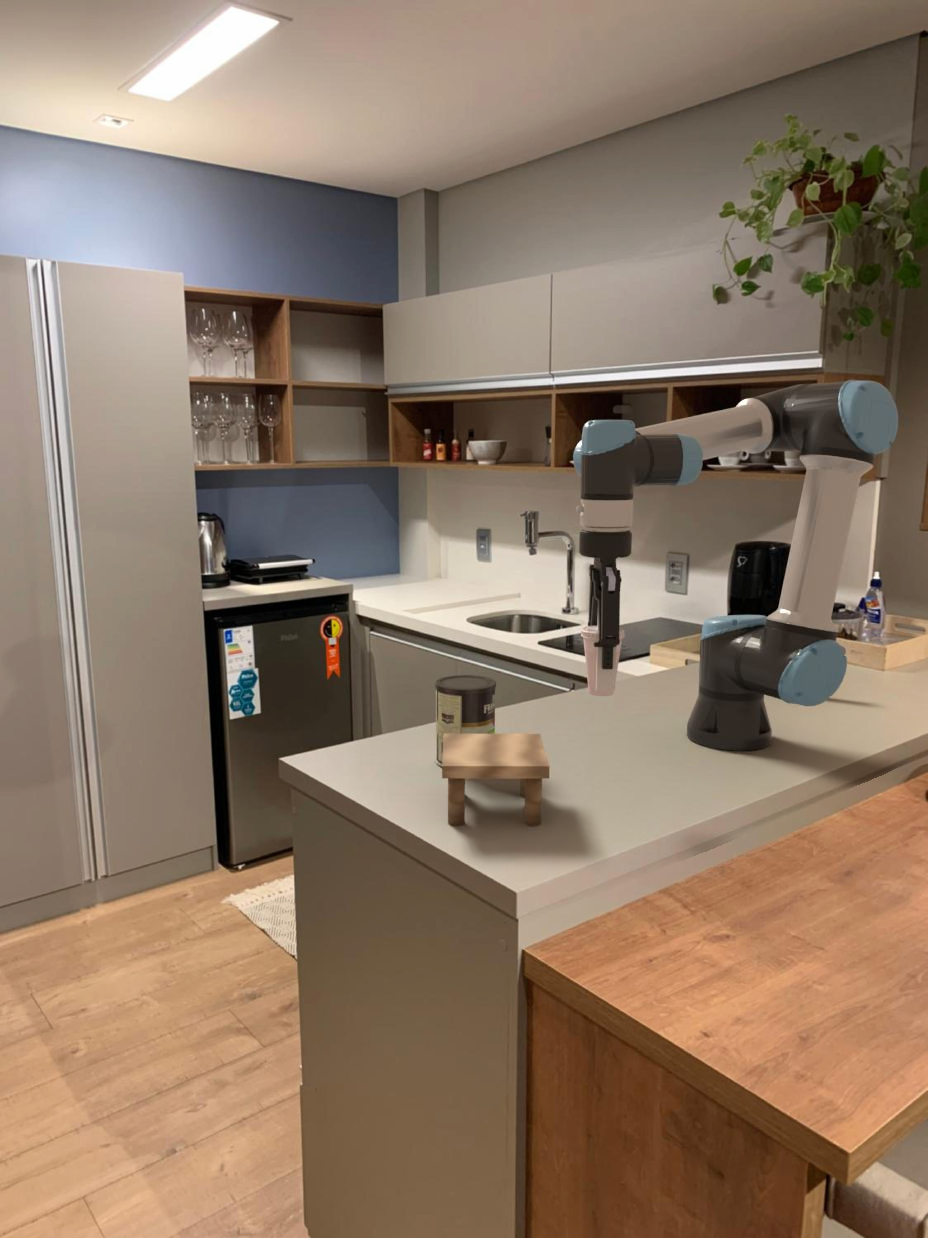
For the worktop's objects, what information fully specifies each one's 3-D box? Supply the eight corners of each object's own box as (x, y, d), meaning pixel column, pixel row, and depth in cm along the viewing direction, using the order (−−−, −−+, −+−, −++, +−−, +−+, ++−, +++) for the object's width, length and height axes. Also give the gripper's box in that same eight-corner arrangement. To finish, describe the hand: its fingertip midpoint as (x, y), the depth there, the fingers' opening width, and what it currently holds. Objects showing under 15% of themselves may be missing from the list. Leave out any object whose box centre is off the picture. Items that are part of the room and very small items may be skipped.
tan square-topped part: (538, 790, 147) (540, 733, 146) (548, 828, 132) (549, 766, 131) (443, 789, 147) (443, 733, 145) (442, 828, 132) (442, 766, 131)
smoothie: (575, 687, 143) (577, 597, 140) (617, 686, 143) (619, 596, 141) (584, 699, 136) (586, 604, 134) (627, 698, 137) (630, 603, 134)
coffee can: (499, 754, 164) (500, 676, 162) (489, 773, 154) (490, 691, 152) (442, 750, 166) (442, 673, 164) (428, 769, 156) (428, 687, 154)
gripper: (571, 523, 145) (568, 668, 149) (589, 535, 126) (585, 701, 130) (620, 522, 145) (615, 668, 149) (644, 535, 126) (639, 701, 130)
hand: (601, 683), depth 140 cm, fingers closed on smoothie, 6 cm apart
